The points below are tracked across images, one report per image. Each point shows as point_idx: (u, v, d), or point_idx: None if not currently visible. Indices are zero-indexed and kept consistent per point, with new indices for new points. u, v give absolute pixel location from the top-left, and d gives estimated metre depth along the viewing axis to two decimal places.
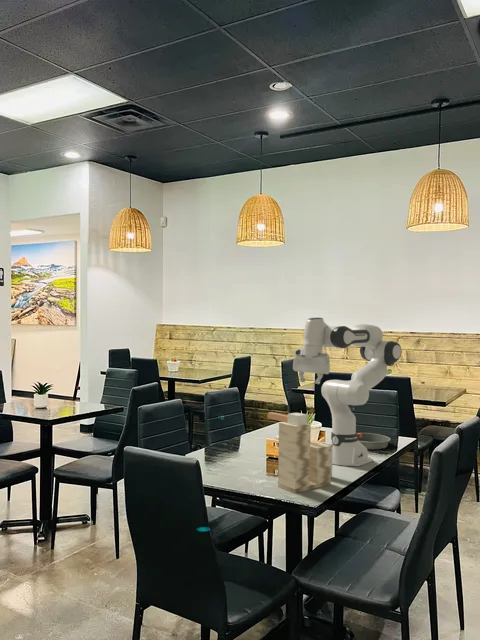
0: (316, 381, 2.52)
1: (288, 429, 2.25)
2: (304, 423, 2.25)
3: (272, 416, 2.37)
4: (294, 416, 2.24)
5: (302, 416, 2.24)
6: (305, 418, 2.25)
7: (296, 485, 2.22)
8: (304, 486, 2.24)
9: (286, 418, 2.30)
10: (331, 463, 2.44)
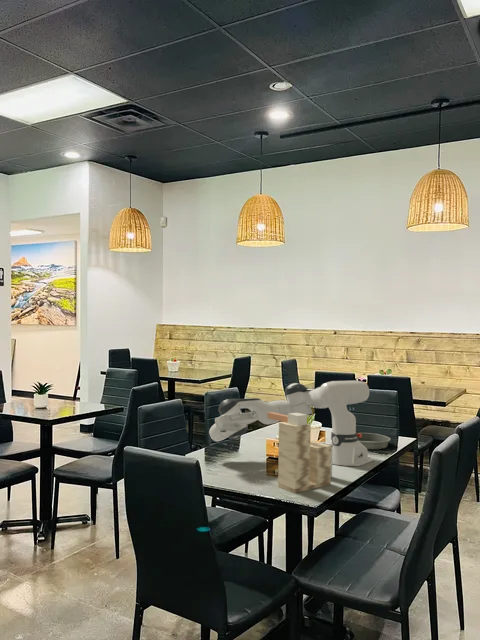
0: None
1: (288, 429, 2.25)
2: (304, 423, 2.25)
3: (272, 416, 2.37)
4: (294, 416, 2.24)
5: (302, 416, 2.24)
6: (305, 418, 2.25)
7: (296, 485, 2.22)
8: (304, 486, 2.24)
9: (286, 418, 2.30)
10: (331, 463, 2.44)
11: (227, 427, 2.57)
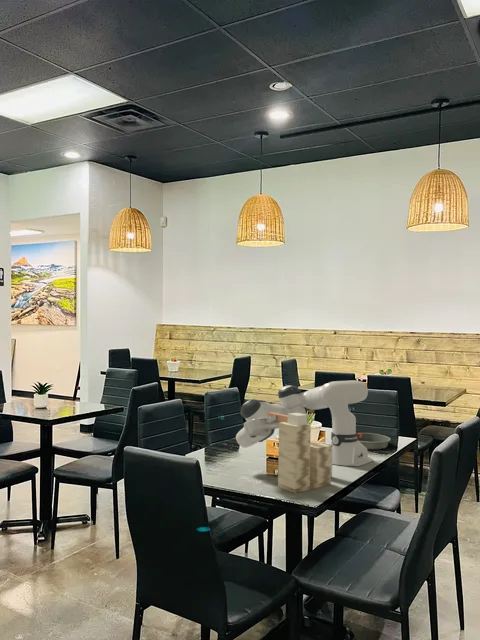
0: None
1: (288, 429, 2.25)
2: (304, 423, 2.25)
3: None
4: (294, 416, 2.24)
5: (302, 416, 2.24)
6: (305, 418, 2.25)
7: (296, 485, 2.22)
8: (304, 486, 2.24)
9: (286, 418, 2.30)
10: (331, 463, 2.44)
11: (257, 432, 2.39)
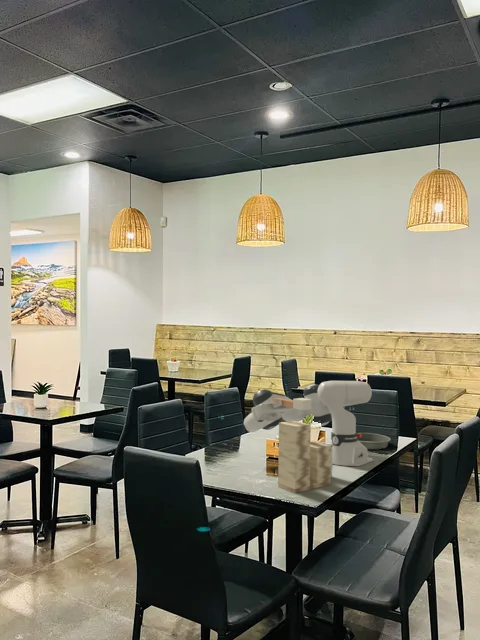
0: None
1: (288, 429, 2.25)
2: (309, 407, 2.40)
3: None
4: (299, 401, 2.39)
5: (307, 401, 2.39)
6: (310, 403, 2.40)
7: (296, 485, 2.22)
8: (304, 486, 2.24)
9: (292, 403, 2.45)
10: (331, 463, 2.44)
11: (264, 416, 2.53)
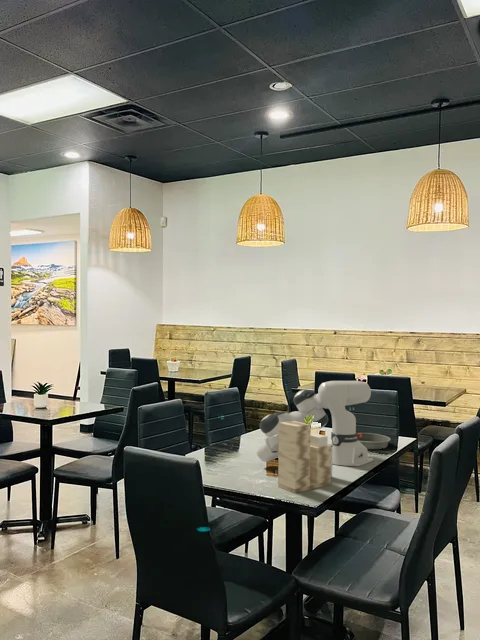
0: None
1: (288, 429, 2.25)
2: (325, 444, 2.32)
3: None
4: (315, 438, 2.32)
5: (323, 438, 2.31)
6: (325, 439, 2.32)
7: (296, 485, 2.22)
8: (304, 486, 2.24)
9: None
10: (331, 463, 2.44)
11: (278, 447, 2.46)
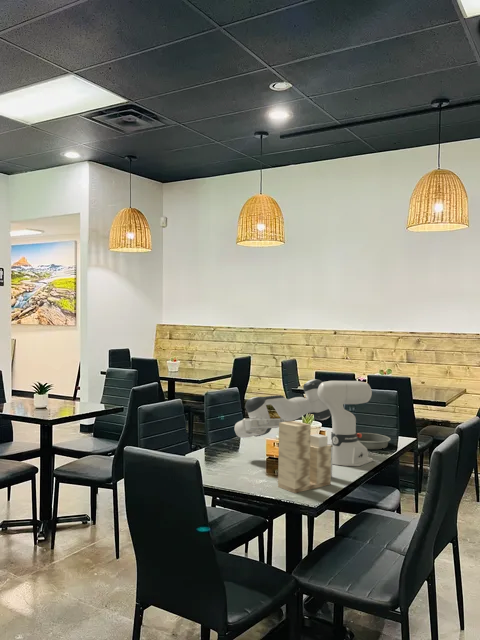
0: (282, 419, 2.59)
1: (288, 429, 2.25)
2: (325, 444, 2.32)
3: None
4: (315, 438, 2.32)
5: (323, 438, 2.31)
6: (325, 439, 2.32)
7: (296, 485, 2.22)
8: (304, 486, 2.24)
9: None
10: (331, 463, 2.44)
11: (253, 430, 2.60)
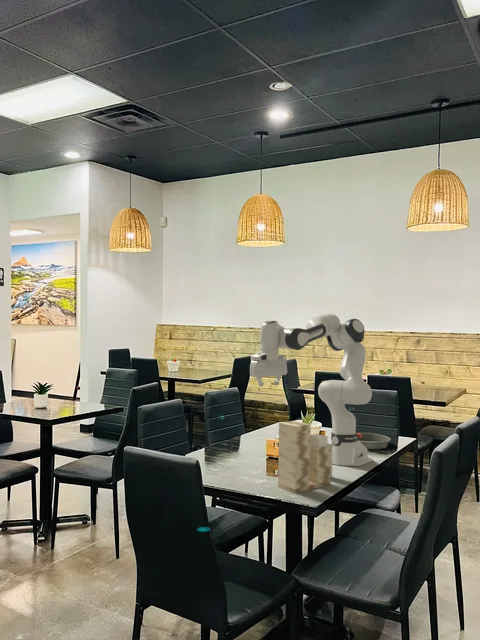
0: (277, 383, 2.65)
1: (288, 429, 2.25)
2: (325, 444, 2.32)
3: None
4: (315, 438, 2.32)
5: (323, 438, 2.31)
6: (325, 439, 2.32)
7: (296, 485, 2.22)
8: (304, 486, 2.24)
9: None
10: (331, 463, 2.44)
11: None
